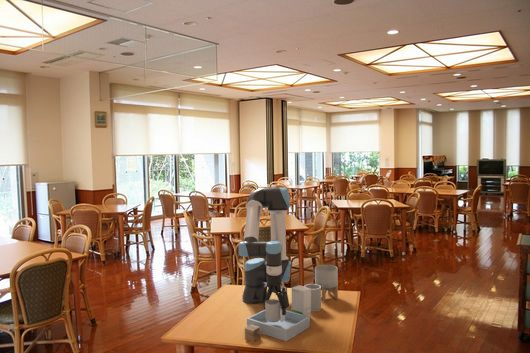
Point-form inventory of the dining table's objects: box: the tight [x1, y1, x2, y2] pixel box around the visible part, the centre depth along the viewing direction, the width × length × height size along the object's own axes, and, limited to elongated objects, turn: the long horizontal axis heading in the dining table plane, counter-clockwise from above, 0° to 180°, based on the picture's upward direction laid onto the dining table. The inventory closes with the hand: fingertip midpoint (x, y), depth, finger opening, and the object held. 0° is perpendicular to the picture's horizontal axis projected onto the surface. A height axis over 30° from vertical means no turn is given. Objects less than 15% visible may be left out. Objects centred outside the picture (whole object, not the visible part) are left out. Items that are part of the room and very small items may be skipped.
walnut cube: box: [244, 325, 261, 342], centre depth 200 cm, size 5×5×5 cm
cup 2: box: [304, 283, 322, 312], centre depth 234 cm, size 9×9×12 cm
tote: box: [246, 309, 311, 342], centre depth 210 cm, size 20×24×5 cm
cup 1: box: [265, 298, 281, 322], centre depth 211 cm, size 7×10×9 cm
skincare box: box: [290, 284, 312, 318], centre depth 222 cm, size 8×7×16 cm
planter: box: [314, 264, 339, 302], centre depth 249 cm, size 13×13×18 cm
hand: (275, 318), depth 211 cm, fingers closed on cup 1, 8 cm apart
